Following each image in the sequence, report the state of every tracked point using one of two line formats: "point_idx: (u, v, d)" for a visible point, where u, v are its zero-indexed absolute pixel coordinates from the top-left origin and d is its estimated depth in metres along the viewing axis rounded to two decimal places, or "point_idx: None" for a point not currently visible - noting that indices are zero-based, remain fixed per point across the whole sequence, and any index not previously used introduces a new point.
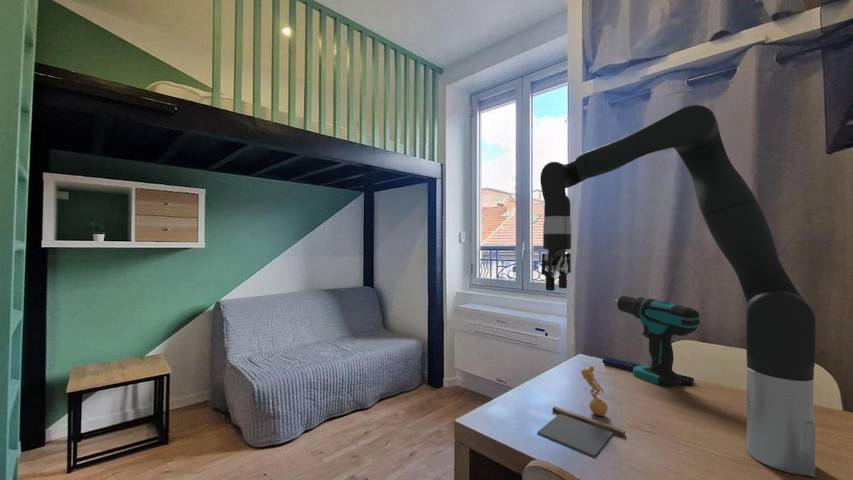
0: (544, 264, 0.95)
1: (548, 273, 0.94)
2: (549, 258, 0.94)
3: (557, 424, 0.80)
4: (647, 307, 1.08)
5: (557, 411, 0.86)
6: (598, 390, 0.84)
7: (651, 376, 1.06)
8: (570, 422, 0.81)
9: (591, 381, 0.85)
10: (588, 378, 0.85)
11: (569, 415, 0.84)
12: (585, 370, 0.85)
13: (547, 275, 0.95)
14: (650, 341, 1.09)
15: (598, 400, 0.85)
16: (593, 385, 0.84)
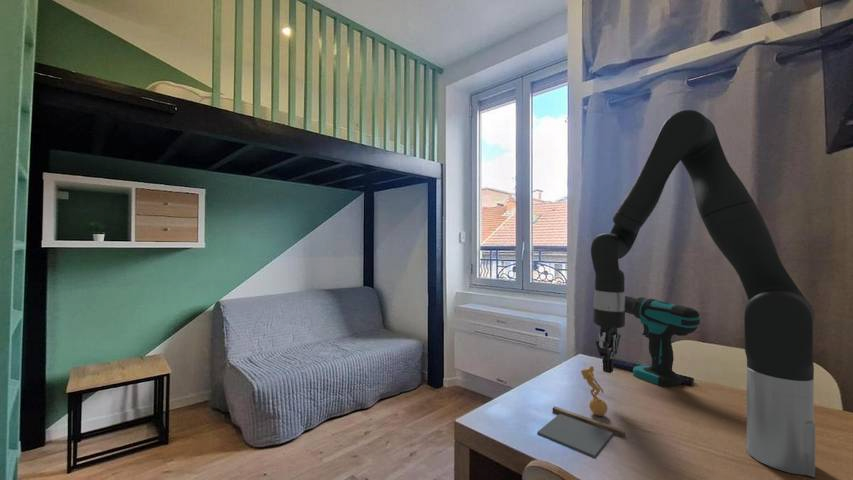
0: (601, 351, 0.91)
1: (607, 357, 0.91)
2: (605, 348, 0.89)
3: (557, 424, 0.80)
4: (647, 307, 1.08)
5: (557, 411, 0.86)
6: (598, 390, 0.84)
7: (651, 376, 1.06)
8: (570, 422, 0.81)
9: (591, 381, 0.85)
10: (588, 378, 0.85)
11: (569, 415, 0.84)
12: (585, 370, 0.85)
13: (605, 357, 0.92)
14: (650, 341, 1.09)
15: (598, 400, 0.85)
16: (593, 385, 0.84)
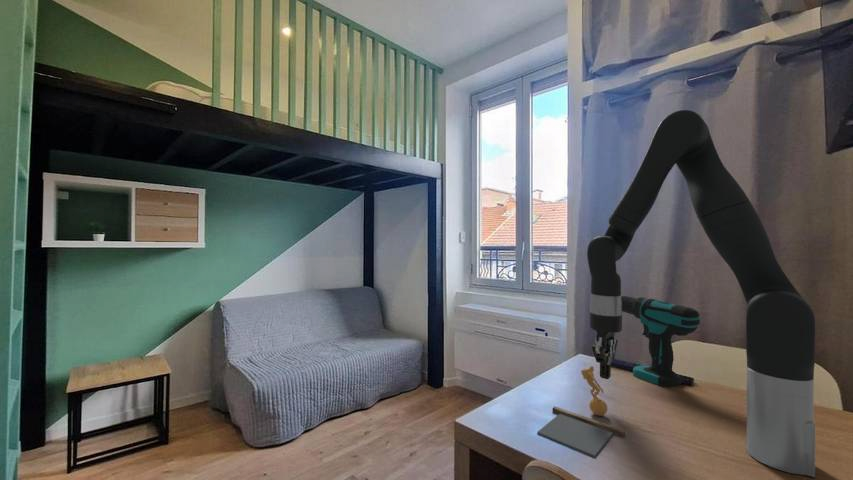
0: (598, 356, 0.88)
1: (604, 363, 0.89)
2: (602, 353, 0.87)
3: (557, 424, 0.80)
4: (647, 307, 1.08)
5: (557, 411, 0.86)
6: (598, 390, 0.84)
7: (651, 376, 1.06)
8: (570, 422, 0.81)
9: (591, 381, 0.85)
10: (588, 378, 0.85)
11: (569, 415, 0.84)
12: (585, 370, 0.85)
13: (602, 363, 0.90)
14: (650, 341, 1.09)
15: (598, 400, 0.85)
16: (593, 385, 0.84)
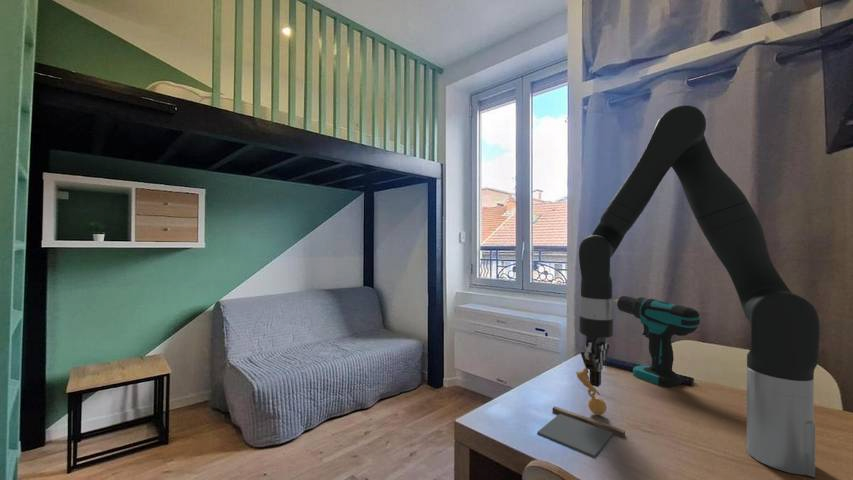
0: (587, 363, 0.83)
1: (594, 370, 0.84)
2: (591, 359, 0.82)
3: (557, 424, 0.80)
4: (647, 307, 1.08)
5: (557, 411, 0.86)
6: (595, 391, 0.84)
7: (651, 376, 1.06)
8: (570, 422, 0.81)
9: (587, 383, 0.84)
10: (583, 381, 0.84)
11: (569, 415, 0.84)
12: (579, 374, 0.84)
13: (592, 370, 0.84)
14: (650, 341, 1.09)
15: (596, 400, 0.84)
16: (589, 387, 0.83)
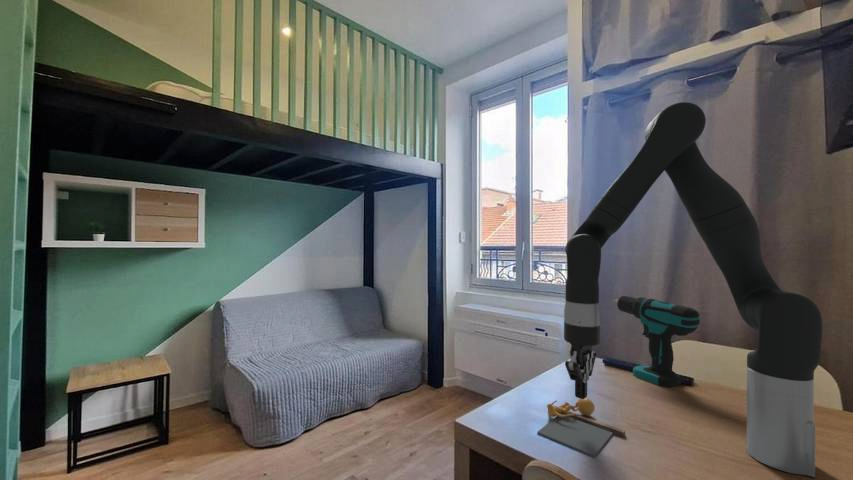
0: (572, 373, 0.76)
1: (579, 381, 0.77)
2: (576, 370, 0.75)
3: (557, 424, 0.80)
4: (647, 307, 1.08)
5: None
6: (571, 407, 0.83)
7: (651, 376, 1.06)
8: (570, 422, 0.81)
9: (561, 411, 0.83)
10: None
11: None
12: (549, 414, 0.83)
13: (577, 381, 0.78)
14: (650, 341, 1.09)
15: (580, 408, 0.84)
16: (565, 412, 0.83)
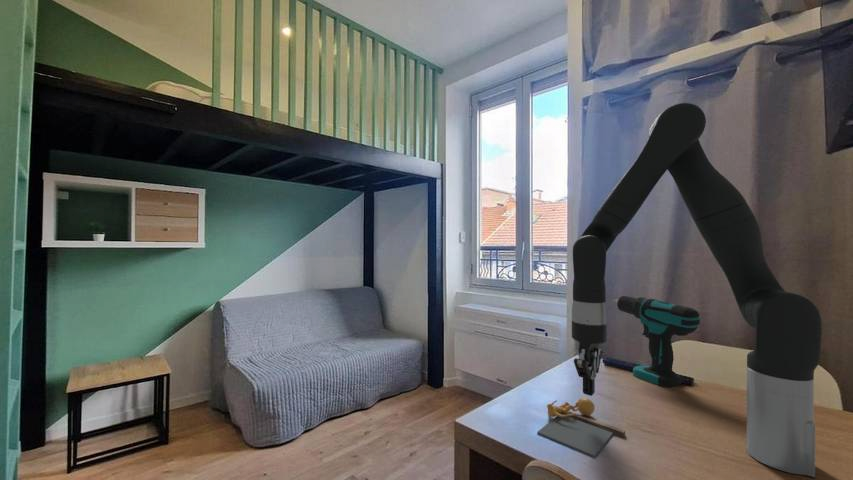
0: (580, 371, 0.79)
1: (587, 378, 0.79)
2: (584, 367, 0.77)
3: (557, 424, 0.80)
4: (647, 307, 1.08)
5: None
6: (571, 407, 0.83)
7: (651, 376, 1.06)
8: (570, 422, 0.81)
9: (561, 411, 0.83)
10: None
11: None
12: (549, 414, 0.83)
13: (585, 378, 0.80)
14: (650, 341, 1.09)
15: (580, 408, 0.84)
16: (565, 412, 0.83)
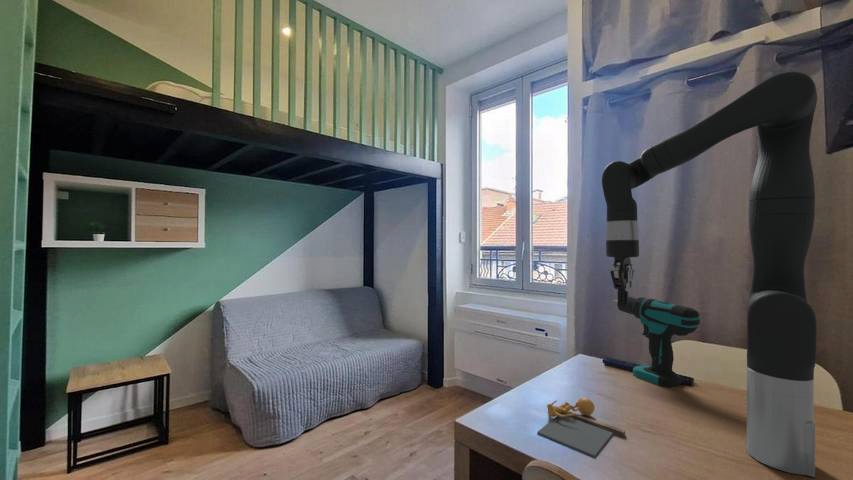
0: (616, 281, 0.87)
1: (623, 288, 0.88)
2: (620, 276, 0.86)
3: (557, 424, 0.80)
4: (647, 307, 1.08)
5: None
6: (571, 407, 0.83)
7: (651, 376, 1.06)
8: (570, 422, 0.81)
9: (561, 411, 0.83)
10: None
11: None
12: (549, 414, 0.83)
13: (620, 289, 0.89)
14: (650, 341, 1.09)
15: (580, 408, 0.84)
16: (565, 412, 0.83)
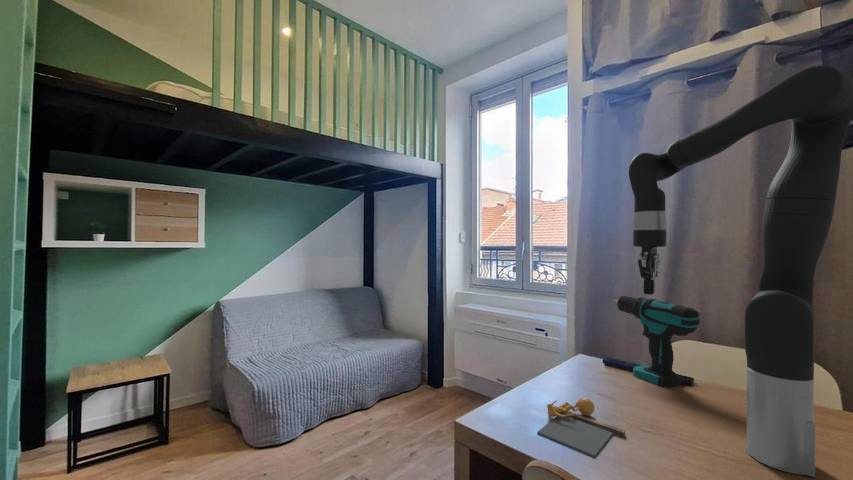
0: (643, 270, 0.89)
1: (649, 277, 0.90)
2: (648, 265, 0.88)
3: (557, 424, 0.80)
4: (647, 307, 1.08)
5: None
6: (571, 407, 0.83)
7: (651, 376, 1.06)
8: (570, 422, 0.81)
9: (561, 411, 0.83)
10: None
11: None
12: (549, 414, 0.83)
13: (647, 278, 0.91)
14: (650, 341, 1.09)
15: (580, 408, 0.84)
16: (565, 412, 0.83)
